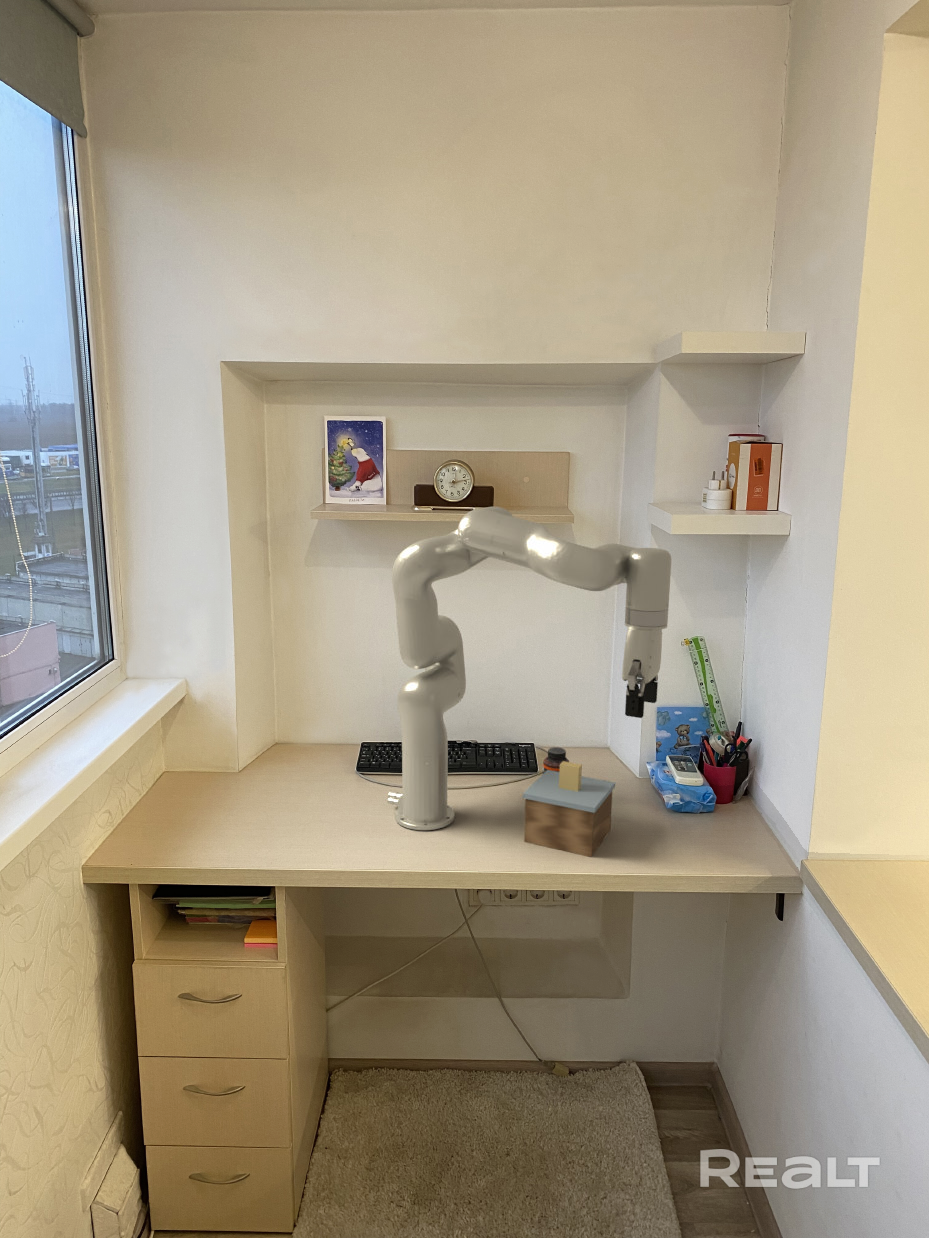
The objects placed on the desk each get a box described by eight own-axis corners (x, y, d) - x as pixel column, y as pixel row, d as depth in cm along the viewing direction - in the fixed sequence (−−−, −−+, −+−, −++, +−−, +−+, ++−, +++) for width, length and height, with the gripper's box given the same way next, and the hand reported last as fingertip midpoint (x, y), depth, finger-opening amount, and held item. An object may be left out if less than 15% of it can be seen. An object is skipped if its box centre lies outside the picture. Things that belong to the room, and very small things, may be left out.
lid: (522, 798, 171) (523, 769, 170) (547, 774, 183) (548, 747, 182) (594, 812, 165) (596, 783, 163) (615, 787, 177) (616, 759, 176)
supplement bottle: (537, 799, 194) (539, 751, 191) (547, 789, 199) (549, 743, 196) (562, 804, 191) (564, 756, 188) (572, 795, 196) (574, 748, 194)
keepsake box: (524, 841, 173) (525, 797, 171) (547, 816, 185) (548, 775, 183) (591, 857, 167) (593, 811, 165) (610, 830, 179) (612, 787, 177)
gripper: (638, 607, 163) (633, 693, 167) (612, 624, 148) (607, 719, 152) (677, 611, 160) (672, 699, 164) (655, 629, 145) (649, 726, 149)
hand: (641, 708), depth 158 cm, fingers open, 9 cm apart
